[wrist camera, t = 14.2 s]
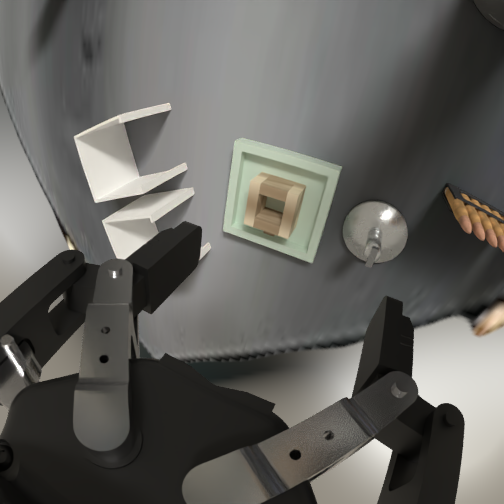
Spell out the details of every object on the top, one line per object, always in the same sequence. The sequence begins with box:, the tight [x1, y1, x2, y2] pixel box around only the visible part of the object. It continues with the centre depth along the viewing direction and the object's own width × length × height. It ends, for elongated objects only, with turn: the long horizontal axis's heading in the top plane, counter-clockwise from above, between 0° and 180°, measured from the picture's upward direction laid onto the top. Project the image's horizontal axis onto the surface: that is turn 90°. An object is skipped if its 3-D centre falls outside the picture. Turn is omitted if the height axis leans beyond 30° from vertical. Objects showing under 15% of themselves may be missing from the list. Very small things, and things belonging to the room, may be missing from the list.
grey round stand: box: [343, 200, 408, 268], centre depth 39 cm, size 9×9×7 cm
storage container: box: [74, 103, 211, 260], centre depth 47 cm, size 25×11×11 cm, turn 12°
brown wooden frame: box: [244, 172, 306, 239], centre depth 43 cm, size 8×6×4 cm
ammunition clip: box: [442, 183, 504, 252], centre depth 29 cm, size 11×2×12 cm, turn 77°
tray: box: [223, 138, 342, 263], centre depth 44 cm, size 14×14×2 cm
